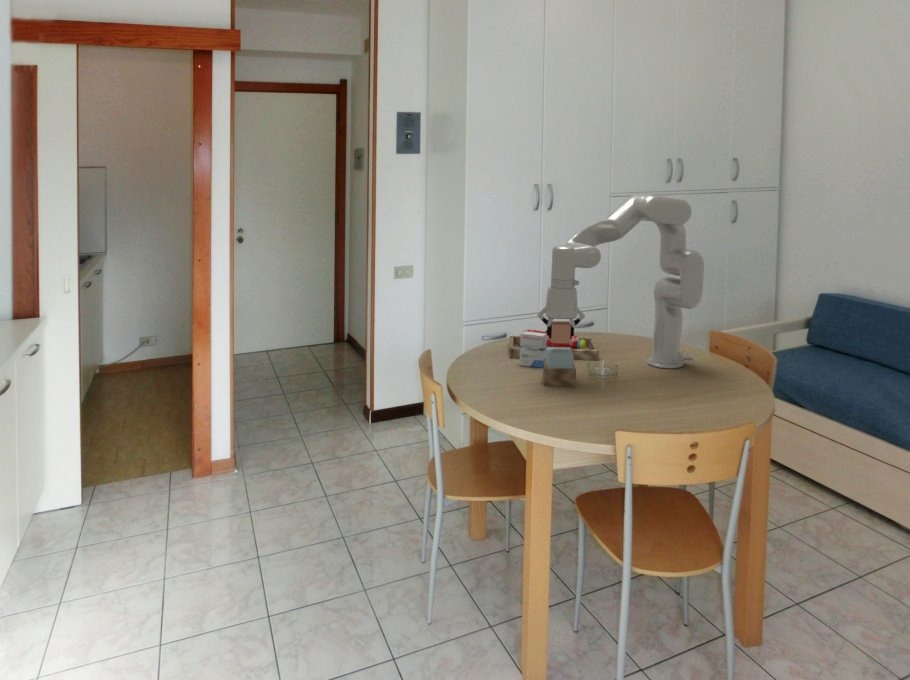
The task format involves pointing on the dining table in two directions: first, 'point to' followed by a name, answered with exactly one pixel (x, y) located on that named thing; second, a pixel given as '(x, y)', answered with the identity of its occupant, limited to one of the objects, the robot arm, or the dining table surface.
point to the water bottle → (574, 343)
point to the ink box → (533, 349)
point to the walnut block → (559, 376)
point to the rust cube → (560, 332)
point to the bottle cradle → (577, 353)
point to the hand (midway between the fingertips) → (560, 337)
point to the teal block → (559, 358)
